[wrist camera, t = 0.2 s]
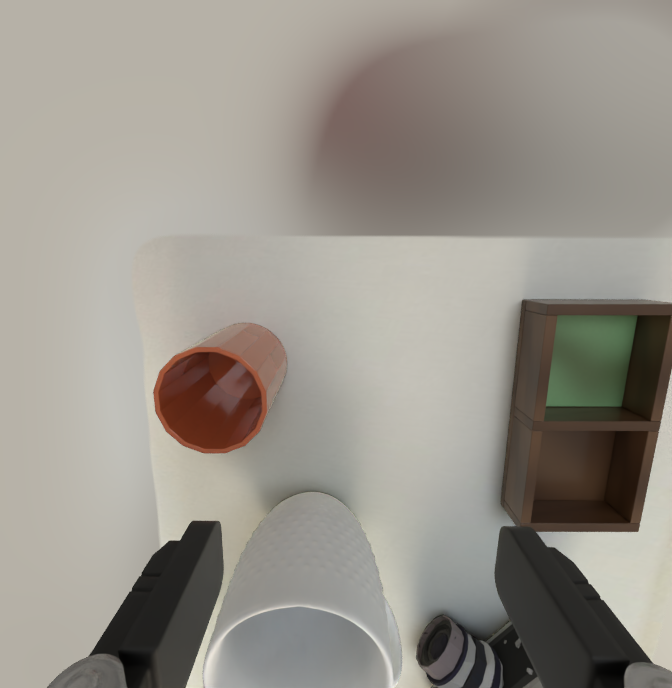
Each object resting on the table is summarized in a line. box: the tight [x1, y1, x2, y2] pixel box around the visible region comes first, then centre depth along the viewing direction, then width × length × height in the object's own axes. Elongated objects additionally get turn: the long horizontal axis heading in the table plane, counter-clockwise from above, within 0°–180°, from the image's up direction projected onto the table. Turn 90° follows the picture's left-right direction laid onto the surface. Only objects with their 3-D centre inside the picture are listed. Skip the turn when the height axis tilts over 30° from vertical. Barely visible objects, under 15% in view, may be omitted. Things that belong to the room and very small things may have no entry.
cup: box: [153, 323, 287, 453], centre depth 26 cm, size 7×7×9 cm
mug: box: [203, 492, 402, 688], centre depth 27 cm, size 15×11×13 cm
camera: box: [416, 615, 543, 688], centre depth 32 cm, size 16×9×10 cm, turn 139°
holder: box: [501, 299, 672, 532], centre depth 29 cm, size 18×10×4 cm, turn 0°
